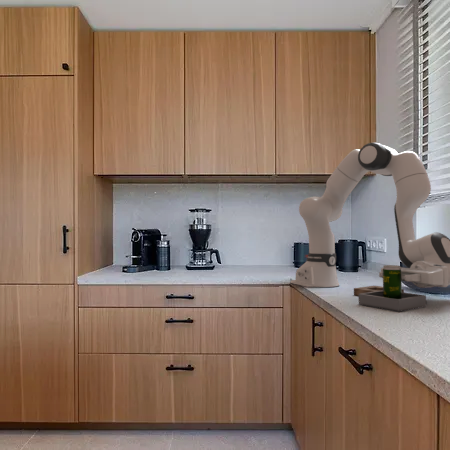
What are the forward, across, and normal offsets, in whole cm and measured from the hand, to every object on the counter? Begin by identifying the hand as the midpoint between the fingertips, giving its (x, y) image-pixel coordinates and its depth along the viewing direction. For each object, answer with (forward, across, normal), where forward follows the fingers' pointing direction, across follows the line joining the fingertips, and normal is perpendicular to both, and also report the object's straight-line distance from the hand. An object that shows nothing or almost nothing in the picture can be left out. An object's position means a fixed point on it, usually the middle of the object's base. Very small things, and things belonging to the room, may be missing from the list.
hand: (392, 276), depth 118 cm
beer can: (0, 0, +9) cm, 9 cm away
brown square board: (-10, -16, +9) cm, 21 cm away
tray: (0, 0, +9) cm, 9 cm away
